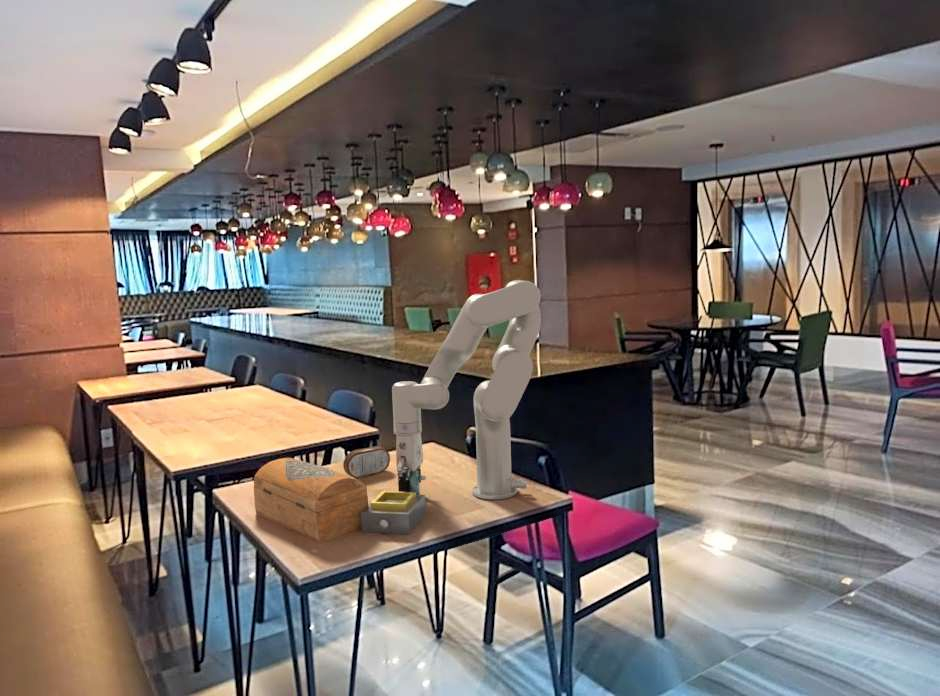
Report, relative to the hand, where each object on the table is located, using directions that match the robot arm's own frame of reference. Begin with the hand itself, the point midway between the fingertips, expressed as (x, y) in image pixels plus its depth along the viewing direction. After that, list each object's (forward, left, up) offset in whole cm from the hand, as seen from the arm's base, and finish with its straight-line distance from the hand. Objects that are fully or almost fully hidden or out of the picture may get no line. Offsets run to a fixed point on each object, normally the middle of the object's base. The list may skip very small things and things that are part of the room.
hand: (410, 488), depth 189 cm
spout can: (0, 0, -3) cm, 3 cm away
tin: (+20, -20, -4) cm, 28 cm away
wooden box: (+21, +17, -4) cm, 27 cm away
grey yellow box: (-1, +17, -3) cm, 17 cm away
